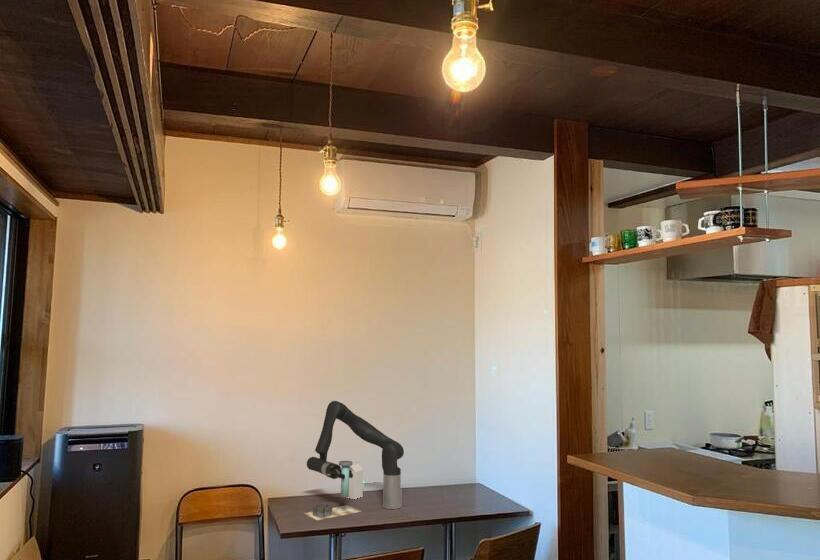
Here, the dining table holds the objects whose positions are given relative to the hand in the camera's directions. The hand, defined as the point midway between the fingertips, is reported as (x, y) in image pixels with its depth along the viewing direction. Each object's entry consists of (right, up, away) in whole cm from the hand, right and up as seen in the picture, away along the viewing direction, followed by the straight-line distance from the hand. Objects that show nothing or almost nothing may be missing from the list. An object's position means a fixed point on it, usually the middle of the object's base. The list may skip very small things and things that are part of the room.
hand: (348, 476), depth 309 cm
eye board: (-7, -18, -4) cm, 20 cm away
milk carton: (0, -22, +31) cm, 38 cm away
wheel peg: (-2, -11, +1) cm, 11 cm away
